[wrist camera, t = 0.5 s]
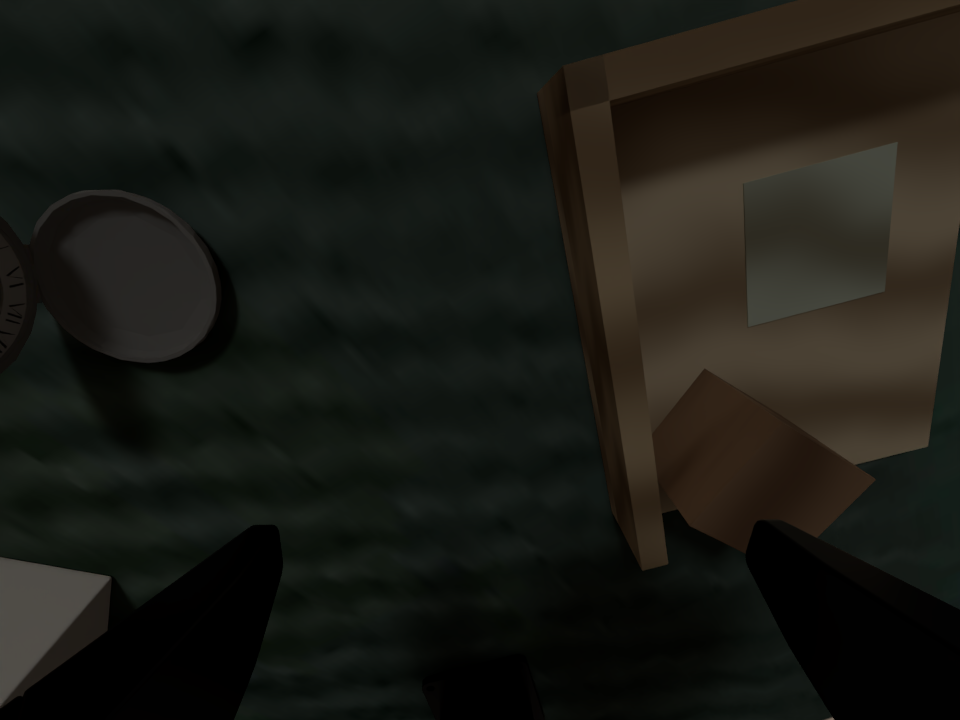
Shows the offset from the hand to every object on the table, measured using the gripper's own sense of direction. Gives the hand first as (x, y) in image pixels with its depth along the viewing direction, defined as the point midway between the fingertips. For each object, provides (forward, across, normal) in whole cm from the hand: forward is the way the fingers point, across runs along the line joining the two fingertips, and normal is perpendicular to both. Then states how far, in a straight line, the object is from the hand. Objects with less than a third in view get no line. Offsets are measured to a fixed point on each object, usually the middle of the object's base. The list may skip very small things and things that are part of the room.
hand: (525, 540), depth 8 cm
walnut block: (+11, -11, +4) cm, 16 cm away
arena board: (+12, -12, -2) cm, 18 cm away
